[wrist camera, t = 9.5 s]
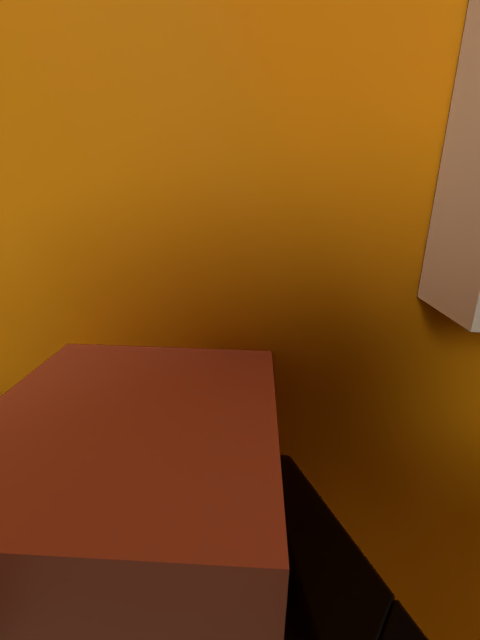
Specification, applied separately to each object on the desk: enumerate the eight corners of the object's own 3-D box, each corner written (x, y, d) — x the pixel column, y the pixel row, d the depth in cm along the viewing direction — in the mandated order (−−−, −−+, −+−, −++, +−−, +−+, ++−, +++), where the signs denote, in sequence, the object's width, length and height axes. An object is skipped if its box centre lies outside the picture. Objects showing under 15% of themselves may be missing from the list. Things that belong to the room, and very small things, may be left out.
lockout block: (263, 512, 10) (267, 829, 5) (89, 503, 10) (-71, 801, 5) (271, 350, 8) (289, 569, 3) (68, 342, 8) (-184, 543, 4)
